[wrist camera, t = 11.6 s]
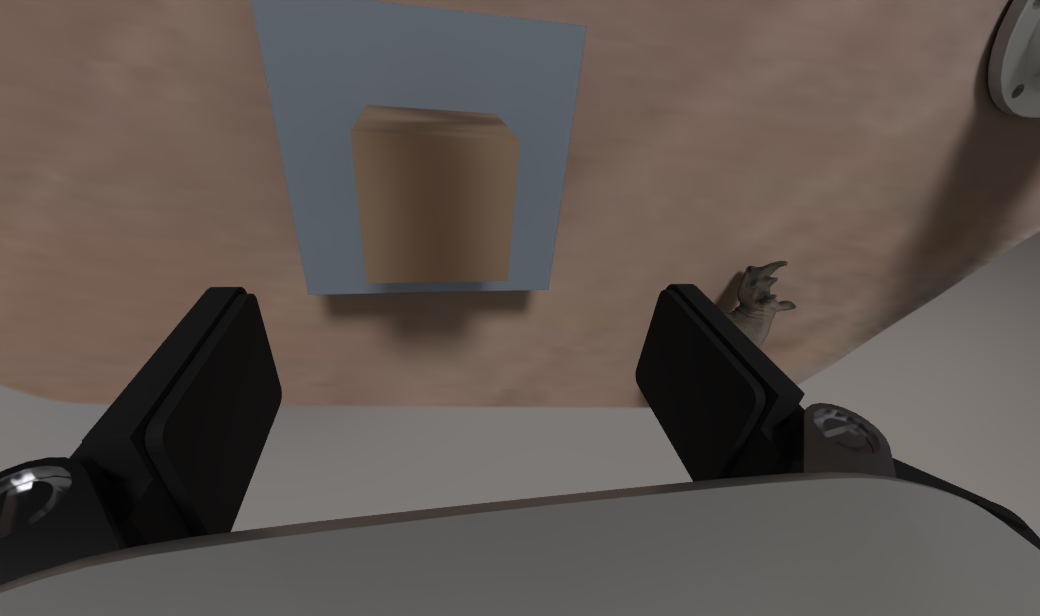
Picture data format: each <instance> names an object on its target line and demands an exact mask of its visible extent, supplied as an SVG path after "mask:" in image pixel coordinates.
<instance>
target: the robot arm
mask: <svg viewBox="0 0 1040 616" xmlns="http://www.w3.org/2000/svg"><path fill="white" fill-rule="evenodd" d="M988 86H989V90H990V94H991V98H992V99H993V101H994V103H995V104H996V106H997V107H998V108H999V109H1001V110H1002V111H1003V112H1005V113H1007V114H1011V115H1015V116H1021V117H1030V118H1039V117H1040V0H1013V1H1012V3H1011V5H1010V7H1009V9H1008V11H1007V13H1006V15H1005V17H1004V19H1003V21H1002V23H1001V25H1000V28H999V30H998V33H997V36H996V39H995V42H994V45H993V48H992V51H991V57H990V62H989V67H988ZM636 382H637V384H638V386H639V388H640V390H641V392H642V393H643V395H644V397H645V399H646V400H647V402H648V404H649V405H650V407H651V409H652V411H653V412H654V414H655V416H656V417H657V419H658V421H659V423H660V425H661V426H662V428H663V430H664V432H665V433H666V435H667V437H668V438H669V440H670V442H671V444H672V445H673V447H674V449H675V451H676V452H677V454H678V456H679V458H680V459H681V461H682V463H683V464H684V466H685V468H686V470H687V471H688V473H689V475H690V477H691V478H692V480H693V482H686V483H676V484H666V485H656V486H646V487H635V488H626V489H615V490H606V491H596V492H586V493H577V494H568V495H558V496H548V497H538V498H529V499H519V500H511V501H500V502H491V503H482V504H472V505H463V506H453V507H444V508H436V509H426V510H417V511H408V512H400V513H391V514H381V515H372V516H363V517H354V518H344V519H335V520H327V521H317V522H308V523H300V524H292V525H284V526H276V527H268V528H260V529H252V530H245V531H236V532H231V529H232V527H233V524H234V522H235V519H236V517H237V514H238V511H239V509H240V506H241V504H242V501H243V499H244V496H245V494H246V491H247V488H248V486H249V483H250V481H251V478H252V476H253V473H254V470H255V468H256V465H257V463H258V460H259V458H260V455H261V452H262V450H263V447H264V445H265V442H266V440H267V437H268V434H269V432H270V429H271V427H272V424H273V422H274V419H275V416H276V414H277V411H278V409H279V406H280V403H281V398H282V390H281V385H280V382H279V378H278V374H277V371H276V367H275V363H274V360H273V356H272V353H271V349H270V345H269V342H268V338H267V334H266V331H265V327H264V323H263V320H262V316H261V312H260V309H259V305H258V301H257V299H256V296H255V295H254V294H247V292H246V291H245V289H244V288H242V287H210V288H209V289H207V290H206V292H205V293H204V294H203V295H202V296H201V298H200V299H199V300H198V301H197V302H196V304H195V305H194V306H193V307H192V308H191V310H190V311H189V312H188V313H187V314H186V316H185V317H184V318H183V319H182V320H181V322H180V323H179V324H178V325H177V327H176V328H175V329H174V330H173V331H172V333H171V334H170V335H169V336H168V337H167V339H166V340H165V341H164V342H163V343H162V345H161V346H160V347H159V348H158V349H157V351H156V352H155V353H154V354H153V355H152V357H151V358H150V359H149V360H148V361H147V363H146V364H145V365H144V366H143V367H142V369H141V370H140V371H139V372H138V373H137V375H136V376H135V377H134V378H133V380H132V381H131V382H130V383H129V384H128V386H127V387H126V388H125V389H124V390H123V392H122V393H121V394H120V395H119V396H118V398H117V399H116V400H115V401H114V402H113V404H112V405H111V406H110V407H109V408H108V410H107V411H106V412H105V413H104V415H103V416H102V417H101V418H100V419H99V420H98V422H97V423H96V424H95V425H94V427H93V428H92V429H91V430H90V431H89V433H88V434H87V435H86V436H85V437H84V439H83V440H82V443H81V445H80V446H79V447H78V448H77V449H76V451H75V452H74V453H73V454H72V456H71V457H70V458H66V457H48V458H43V459H39V460H34V461H28V462H25V463H22V464H19V465H17V466H14V467H11V468H8V469H5V470H3V471H1V472H0V616H1040V538H1039V537H1038V536H1037V535H1036V534H1035V533H1034V531H1033V530H1032V529H1030V528H1029V526H1028V525H1027V524H1026V523H1025V522H1024V521H1023V520H1022V519H1021V518H1020V517H1018V516H1017V515H1016V514H1015V513H1013V512H1012V511H1010V510H1008V509H1007V508H1005V507H1003V506H1001V505H999V504H996V503H994V502H991V501H989V500H987V499H985V498H983V497H980V496H978V495H976V494H973V493H971V492H969V491H967V490H964V489H962V488H960V487H957V486H955V485H953V484H951V483H948V482H946V481H944V480H942V479H939V478H937V477H935V476H933V475H930V474H928V473H926V472H923V471H921V470H919V469H916V468H914V467H912V466H910V465H908V464H905V463H903V462H901V461H898V460H896V459H894V458H892V454H891V450H890V446H889V444H888V442H887V439H886V438H885V437H884V435H883V434H882V433H881V432H880V431H879V430H878V429H877V428H876V427H875V426H874V425H873V424H871V423H870V422H869V421H868V420H866V419H864V418H863V417H861V416H859V415H858V414H856V413H854V412H852V411H849V410H847V409H845V408H843V407H839V406H835V405H832V404H825V403H818V404H812V405H810V406H809V407H807V408H806V410H804V409H803V408H802V407H801V406H800V405H799V403H800V401H801V399H802V398H803V396H804V393H803V391H802V390H801V389H800V388H798V386H797V385H796V384H795V383H794V382H793V381H792V380H790V379H789V378H788V377H787V376H786V375H785V374H784V373H783V372H782V371H781V370H780V369H779V368H778V367H777V366H776V365H775V364H774V363H773V362H772V361H771V360H770V359H769V358H768V357H767V356H766V355H765V354H764V353H763V352H762V351H761V350H760V349H759V348H758V347H757V346H756V345H755V344H754V343H753V342H752V341H751V340H750V339H749V338H748V337H747V336H746V335H745V334H744V333H743V332H742V331H741V330H740V329H739V328H738V327H737V326H736V325H735V324H734V323H733V322H732V321H731V320H730V319H729V318H728V317H727V316H726V315H725V314H724V313H723V312H722V311H721V310H720V309H719V308H718V307H717V306H716V305H715V304H714V303H713V302H712V301H711V300H710V299H708V298H707V297H706V296H705V295H704V294H703V293H702V292H701V291H700V290H699V289H698V288H697V287H696V286H695V285H693V284H671V285H669V286H668V287H667V288H666V290H663V291H661V293H660V295H659V297H658V301H657V304H656V307H655V310H654V314H653V317H652V320H651V323H650V327H649V330H648V333H647V336H646V340H645V343H644V346H643V349H642V352H641V356H640V359H639V362H638V365H637V369H636Z"/></svg>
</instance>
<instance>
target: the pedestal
mask: <svg viewBox="0 0 1040 616" xmlns="http://www.w3.org/2000/svg"><path fill="white" fill-rule="evenodd" d="M251 4H252V9H253V14H254V19H255V24H256V30H257V35H258V40H259V45H260V50H261V55H262V60H263V65H264V71H265V76H266V81H267V86H268V91H269V96H270V101H271V106H272V111H273V117H274V122H275V127H276V132H277V137H278V142H279V147H280V152H281V157H282V163H283V168H284V173H285V178H286V183H287V188H288V193H289V198H290V204H291V209H292V214H293V219H294V224H295V229H296V234H297V239H298V244H299V250H300V255H301V260H302V265H303V270H304V275H305V280H306V285H307V290H308V295H325V294H372V293H419V292H466V291H513V290H548V289H549V282H550V275H551V269H552V262H553V255H554V248H555V241H556V234H557V227H558V220H559V213H560V207H561V200H562V193H563V186H564V179H565V172H566V165H567V158H568V151H569V145H570V138H571V131H572V124H573V117H574V110H575V103H576V96H577V89H578V83H579V76H580V69H581V62H582V55H583V48H584V41H585V34H586V27H587V26H584V25H575V24H567V23H558V22H550V21H541V20H533V19H524V18H515V17H507V16H498V15H490V14H481V13H473V12H464V11H456V10H447V9H438V8H430V7H421V6H413V5H404V4H396V3H387V2H379V1H370V0H251ZM366 105H377V106H392V107H406V108H421V109H435V110H450V111H464V112H478V113H493V114H497V115H498V117H499V118H500V119H501V120H502V121H503V122H504V123H505V124H506V126H507V127H508V128H509V129H510V130H511V131H512V132H513V133H514V134H515V136H516V137H517V138H518V139H519V140H520V147H519V158H518V170H517V181H516V192H515V204H514V215H513V226H512V238H511V249H510V260H509V272H508V281H480V282H414V283H367V282H366V272H365V263H364V254H363V245H362V236H361V226H360V217H359V208H358V199H357V190H356V180H355V171H354V162H353V153H352V144H351V135H350V131H351V129H352V127H353V126H354V124H355V122H356V121H357V119H358V118H359V116H360V114H361V113H362V111H363V110H364V108H365V106H366Z"/></svg>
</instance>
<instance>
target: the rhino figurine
mask: <svg viewBox="0 0 1040 616" xmlns="http://www.w3.org/2000/svg"><path fill="white" fill-rule="evenodd" d="M784 265H788V262H786V261H778V262H774V263H770V264H768V265H765V266H763V267H754V266H748V267H747V268H746V271H745V273H744V275H743V278H742V281H741V283H740V286H739V288H738V291H737V296H738V300H739V302H740V306H739V307H737V308H735V311H733V312H731V313H724V314H725V315H726V316H727V317H728V318H729V319H730V320H731V321H732V322H733V323H734V324H735V325H736V326H737V327H738V328H739V329H740V330H741V331H742V332H743V333H744V334H745V335H746V336H747V337H748V338H749V339H750V340H751V341H752V342H753V343H754V344H755V345H756V346H757V347H758V348H760V347H761V346H762V344H763V342H764V340H765V338H766V337H767V335H768V332H769V329H770V326H771V322H772V319H773V318H774V316H775V313H776V312H778V311H781V310H790V309H795V308H796V306H795V305H794V304H793V303H792V302H790V301H781V302H777V301H776V300H775V298H776V297H777V295H771V294H770V287H771V285H772V284H773V283H775V282H776V281H777V280H778V278H773V277H770V275H771V274H772V273H773V272H774V271H775V270H777V269H778V268H779V267H781V266H784Z"/></svg>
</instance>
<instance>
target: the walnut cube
mask: <svg viewBox="0 0 1040 616" xmlns="http://www.w3.org/2000/svg"><path fill="white" fill-rule="evenodd" d="M350 135H351V144H352V153H353V162H354V171H355V180H356V190H357V199H358V208H359V217H360V226H361V236H362V245H363V254H364V263H365V272H366V282H367V283H414V282H480V281H508V272H509V260H510V249H511V238H512V226H513V215H514V204H515V192H516V181H517V170H518V158H519V147H520V140H519V139H518V138H517V137H516V136H515V134H514V133H513V132H512V131H511V130H510V129H509V128H508V127H507V126H506V124H505V123H504V122H503V121H502V120H501V119H500V118H499V117H498V115H497V114H493V113H478V112H464V111H450V110H435V109H421V108H406V107H392V106H377V105H366V106H365V108H364V110H363V111H362V113H361V114H360V116H359V118H358V119H357V121H356V122H355V124H354V126H353V127H352V129H351V131H350Z"/></svg>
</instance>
